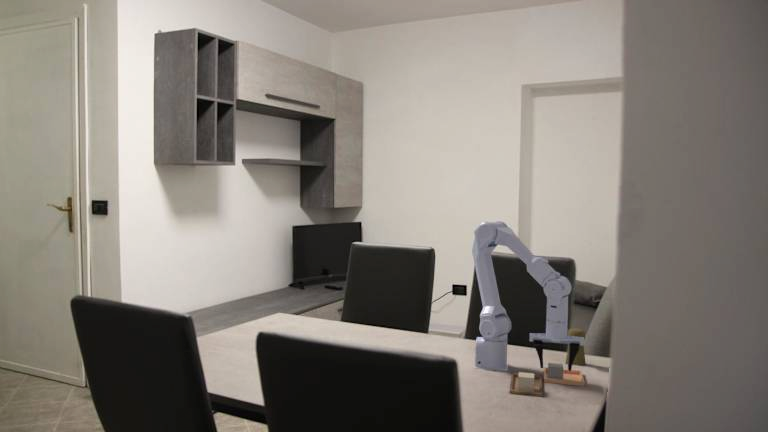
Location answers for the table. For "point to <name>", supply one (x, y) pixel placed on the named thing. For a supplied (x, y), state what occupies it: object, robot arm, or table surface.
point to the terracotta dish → (566, 377)
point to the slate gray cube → (555, 371)
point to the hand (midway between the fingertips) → (555, 368)
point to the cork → (580, 355)
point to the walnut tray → (515, 391)
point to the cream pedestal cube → (526, 382)
